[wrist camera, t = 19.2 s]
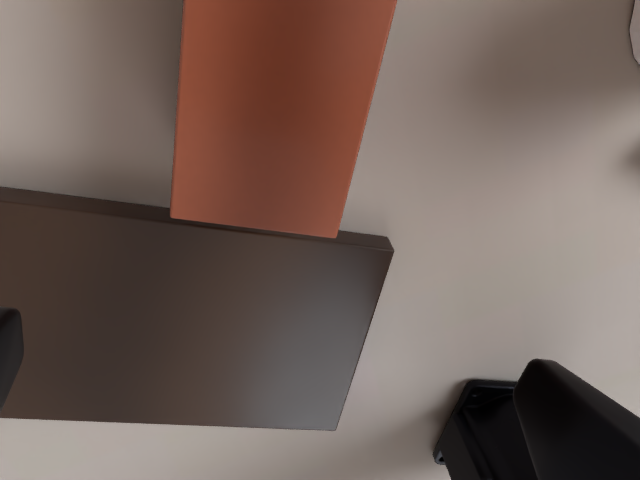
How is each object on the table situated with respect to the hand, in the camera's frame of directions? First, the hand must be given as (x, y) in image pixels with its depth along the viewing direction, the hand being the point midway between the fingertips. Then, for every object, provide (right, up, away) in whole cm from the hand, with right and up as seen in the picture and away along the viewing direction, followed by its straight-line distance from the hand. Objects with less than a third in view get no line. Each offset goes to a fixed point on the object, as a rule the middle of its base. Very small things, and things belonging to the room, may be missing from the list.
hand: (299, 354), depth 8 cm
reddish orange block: (-1, +9, +7) cm, 12 cm away
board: (-8, -1, +12) cm, 15 cm away
